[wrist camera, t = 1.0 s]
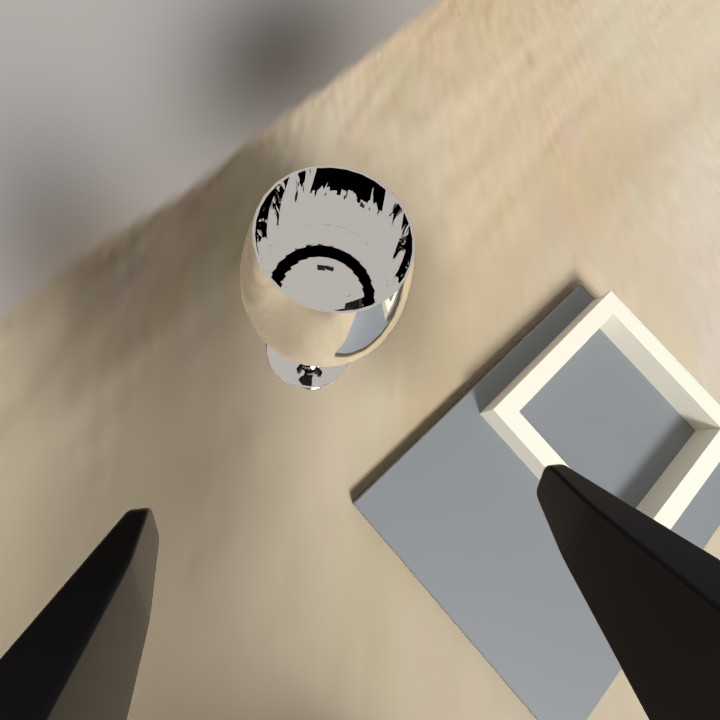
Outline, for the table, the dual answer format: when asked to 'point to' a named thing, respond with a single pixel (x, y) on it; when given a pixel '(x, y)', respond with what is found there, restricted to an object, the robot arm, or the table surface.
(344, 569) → the table surface
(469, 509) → the square frame board
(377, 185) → the wineglass
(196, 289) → the table surface
